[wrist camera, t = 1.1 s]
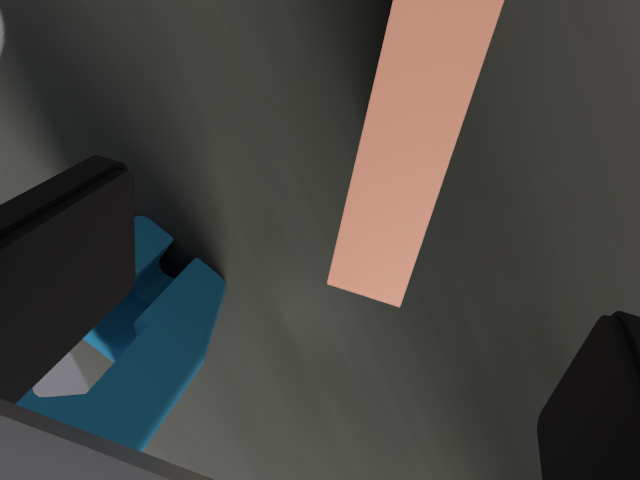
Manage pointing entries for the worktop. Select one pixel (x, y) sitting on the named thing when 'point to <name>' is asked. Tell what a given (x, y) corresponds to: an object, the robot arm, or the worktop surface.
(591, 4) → the worktop surface
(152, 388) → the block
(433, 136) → the terracotta plate
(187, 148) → the worktop surface
